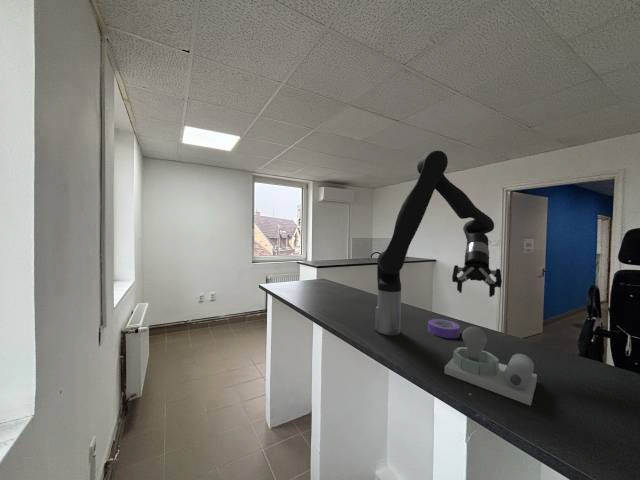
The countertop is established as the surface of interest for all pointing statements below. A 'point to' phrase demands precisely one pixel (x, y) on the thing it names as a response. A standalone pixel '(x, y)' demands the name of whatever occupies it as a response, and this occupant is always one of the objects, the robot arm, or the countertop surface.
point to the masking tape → (444, 328)
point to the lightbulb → (474, 342)
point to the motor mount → (496, 374)
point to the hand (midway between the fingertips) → (475, 293)
